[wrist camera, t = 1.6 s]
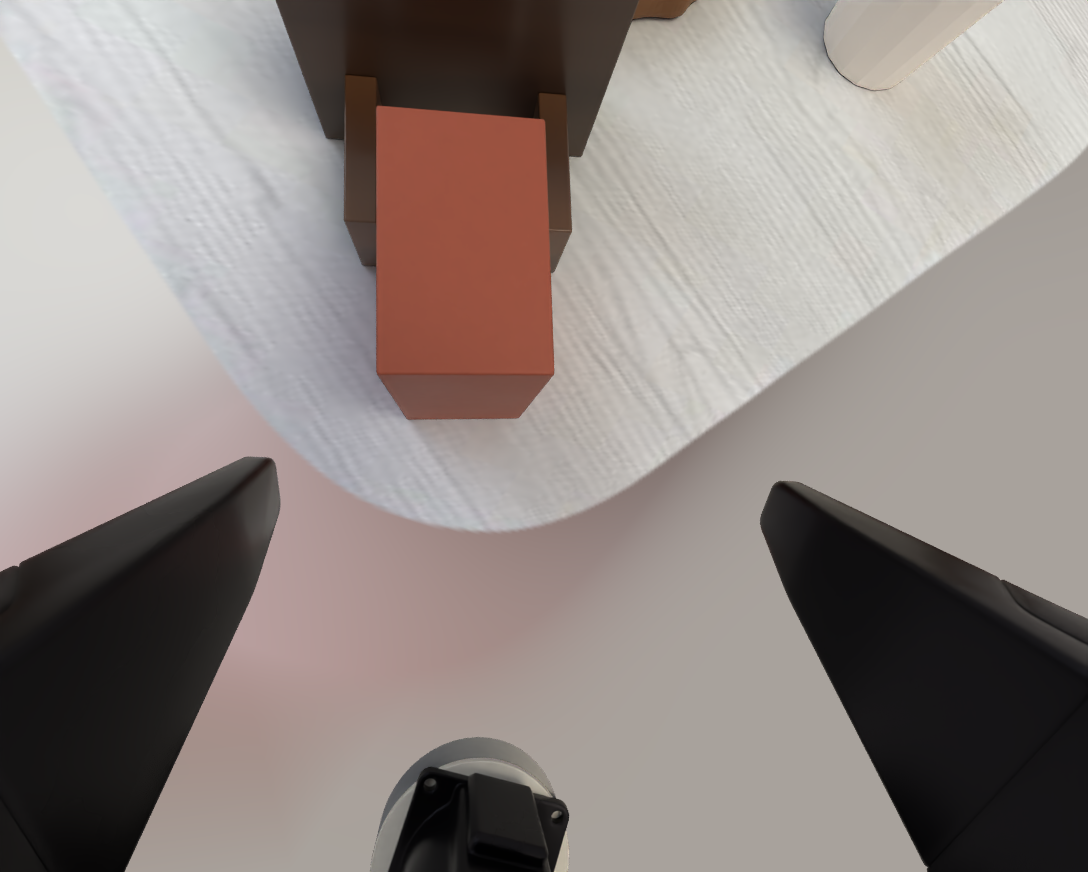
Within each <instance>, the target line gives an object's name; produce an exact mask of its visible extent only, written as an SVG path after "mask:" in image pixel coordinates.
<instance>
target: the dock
mask: <svg viewBox="0 0 1088 872" xmlns="http://www.w3.org/2000/svg"><path fill="white" fill-rule="evenodd" d="M276 3H277V5H278V8H279V11H280V14H281V16H282V19H283V22H284V25H285V27H286V30H287V33H288V35H289V38H290V41H291V44H292V46H293V49H294V52H295V54H296V57H297V60H298V63H299V65H300V68H301V71H302V74H303V76H304V79H305V82H306V84H307V87H308V90H309V93H310V95H311V98H312V101H313V103H314V106H315V109H316V112H317V114H318V117H319V120H320V123H321V125H322V128H323V131H324V133H325V136H326V138H332V139H344V222H345V224H346V226H347V229H348V231H349V234H350V236H351V238H352V241H353V243H354V246H355V248H356V251H357V253H358V255H359V258H360V260H361V263H362V265H364V266H376V108H377V106H390V107H402V108H414V109H426V110H438V111H450V112H462V113H474V114H486V115H498V116H510V117H522V118H534V119H543V120H544V121H545V133H546V160H547V187H548V214H549V241H550V268H551V272H554V271H555V269H556V267H557V264H558V262H559V260H560V257H561V255H562V253H563V251H564V248H565V246H566V244H567V241H568V239H569V237H570V235H571V232H572V220H571V196H570V172H569V156H580V157H581V156H582V154H583V151H584V149H585V146H586V143H587V141H588V138H589V135H590V132H591V130H592V127H593V124H594V122H595V119H596V116H597V114H598V111H599V108H600V105H601V103H602V100H603V97H604V95H605V92H606V89H607V86H608V84H609V81H610V78H611V76H612V73H613V70H614V68H615V65H616V62H617V59H618V57H619V54H620V51H621V49H622V46H623V43H624V40H625V38H626V35H627V32H628V30H629V27H630V24H631V22H632V19H633V16H634V13H635V11H636V8H637V5H638V3H639V0H276Z"/></svg>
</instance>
